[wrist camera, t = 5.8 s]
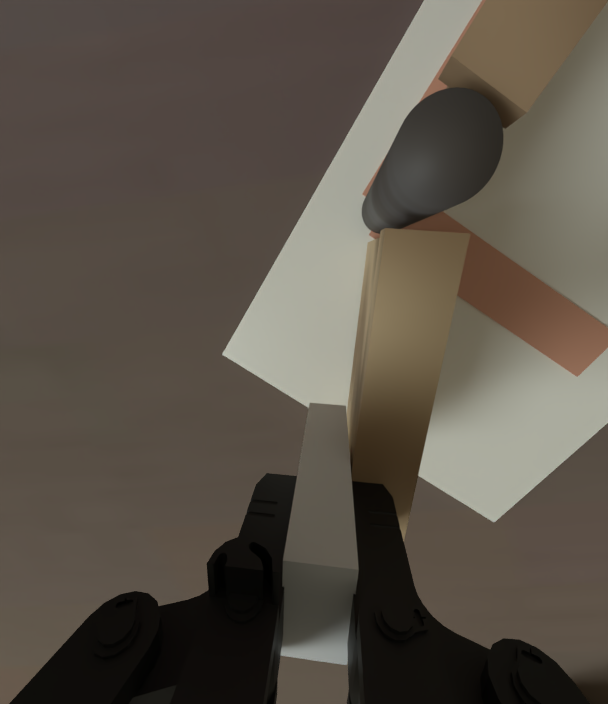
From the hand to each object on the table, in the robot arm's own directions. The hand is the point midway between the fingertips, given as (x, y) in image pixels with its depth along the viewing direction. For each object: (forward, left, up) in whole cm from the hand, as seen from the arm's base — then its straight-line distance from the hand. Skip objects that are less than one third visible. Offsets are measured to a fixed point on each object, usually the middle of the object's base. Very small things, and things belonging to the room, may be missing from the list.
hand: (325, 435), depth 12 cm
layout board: (-10, +3, -5) cm, 11 cm away
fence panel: (-3, 0, -4) cm, 5 cm away
